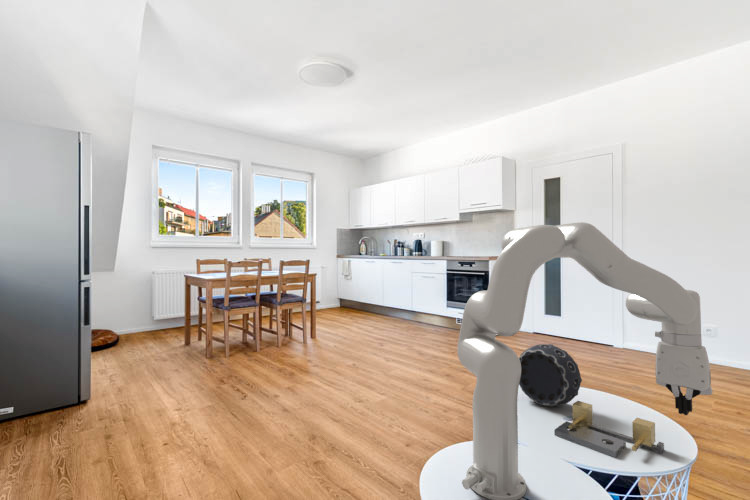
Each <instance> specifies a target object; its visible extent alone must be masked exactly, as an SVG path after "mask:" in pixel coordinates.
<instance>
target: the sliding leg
mask: <svg viewBox="0 0 750 500" xmlns="http://www.w3.org/2000/svg"><path fill="white" fill-rule="evenodd" d="M631 425H632V426H631V427H632V437H633V441H635V442H636V443H635V444H632V446H631V451H633V452H635V453H636V452H637V451H638V449H639V448H640V447H641V445H642V444H644V445H647V446H650V447H652V445H653V444H654V445H655V443H656V423H655V422H653V421H650V420H648V419H647V420H646V419H643V418H640V417H636V418H635V419H634V420H633V421H632V423H631Z"/></svg>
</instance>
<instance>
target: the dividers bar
mask: <svg viewBox="0 0 750 500" xmlns="http://www.w3.org/2000/svg"><path fill="white" fill-rule="evenodd" d="M593 416H594V414H593V404H592V403H591V404H590V403H589V402H588V403H587V402H584V401H580V400H576V401H575V402H573V403H572V422H570V423H571V424H570V425H569V429H573V428H574V427H575V426H577V425H579V426H582V427H585V428H588V429H591V430H594V431H597V432H600V433H603V434H606V435H609V436H612V437H615V438H618V439H621V440H624V441H626V443H630V444H632V445H634V444H635V443H636V442H635V441H633V436H629V435H625V434H623V433H619V432H617V431H613V430H610V429H607V428H605V427H602V426H598V425H595V424H593V423H594V421H593V420H594V418H593ZM640 447H642V448H645V449H648V450H650V451H654V452H656V453H657V454H659V455H663V453H664V452H665V443H664V442H662V441H658V443H657V444H655V443H654V444H653V445H652V447H650V446H647V445H644V444H642V445H641V446H640Z"/></svg>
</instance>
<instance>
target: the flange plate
mask: <svg viewBox="0 0 750 500" xmlns="http://www.w3.org/2000/svg"><path fill="white" fill-rule="evenodd" d="M571 423H572V422H570V421H564V422H563V423H562V424H560V425H559V426H558V427H556V428H555V429H554V431H553V432H554V436H555V437H559V438H562V439H565V440H567V441H569V442H572V443H575V444H578V445H580V446H583V447H585V448H589V449H591V450H593V451H597V452H599V453H602V454H605V455H607V456H610V457H611V458H612V457H613V458H615V459H617V458H618V456H619V455H620V454H621V453H622V452H623V451H624V450H625V449H626V448H627V442H626V441H624V440H621V439H618V438H615V437H612V436H609V435H606V434H603V433H600V432H597V431H594V430H591V429H588V428H585V427H582V426H579V425H577V426H575V427H574V428H573V429H569V425H570V424H571Z"/></svg>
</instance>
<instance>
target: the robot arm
mask: <svg viewBox="0 0 750 500" xmlns="http://www.w3.org/2000/svg"><path fill="white" fill-rule="evenodd" d="M501 250H502V251H501V252H500V253H499V254H498V257H497V258H496V260H495V261H494V264H493V267H492V270H491V274H490V277H489V281H488V286H487V290H484V289H483V290H479V291H477V292H475V293H473V294H472V295H471V296H470V297H469V299H468V300H467V302H466V304H465V307H464V310H463V314H462V320H461V324H460V328H459V329H460V330H459V335H458V340H457V348H456V349H457V357H458V360H459V362H460V364H461V365H462V367H464V368H465V369H466V370H467V371H469V372H470V373H471V374H473V375H474V376H476V382H475V383H476V384H475V387H474V390H473V394H472V443H473V444H472V447H473V448H472V453H473V454H472V456H473V457H472V459H473V461H472V463H473V464H472V465H471V466H469V467H468V468H467V470H466V477H465V478H464V479H462V481H461V484H462V487H463V488H464V489H465V490H470V489H472V490H473V491H474V492H475V493H476V494H478V495H480V496H482V497H483V498H485V499H488V500H519V499H521V498H522V497H524V496H525V494H526V491H527V483H526V479H525V478H524V477H523V476H522V475H521V473H519V445H518V444H519V443H518V442H519V440H518V439H519V438H518V436H519V434H518V433H519V431H518V397H519V388H520V385H519V382H520V377H521V363H520V359H519V357H520V356H519V355H518V354H517V353H516V351H515V350H514V349H513V348H511V347H510V346H509V345H508V344H507V343H504V342H502V341H499V340H497V339H496V336H501V337H512V336H515V335H516V334H517V333H519V331H520V330H521V328H522V324H523V322H524V317H525V311H526V304H527V300H528V294H529V289H530V285H531V281H532V279H533V277H534V276H533V275H534V274H535V273H536V272H537V270H538V269H539V268H540V267H541V266H542V265H544V264H546V263H547V262H549V261H552V260H554V259H557V258H560V259H561V258H563V259H564V258H565V259H566V258H569V259H572V260H574V262H577V263H578V264H579V265H580V266H581V267H583V269H584V270H586V271H587V272H588V273H589V274H590V275H591V276H592V277H594V278H595V279H596V280H597V281H598V282H600V283H601V284H602V285H605V286H607V287H610V288H612V289H616V290H618V291H621V292H625V293H629V294H628V295H627V297H626V299H625V307H626V310H627V311H628V312H629V314H631V315H632V316H634V317H636V318H638V319H641V320H648V321H653V322H658V323H661V331H654V336H655V337H657V338H658V339H659V338H660V339H661V340H660V341H658V343H657V347H656V351H655V352H656V353H655V379H656V380H655V383H656V384H657V385H660V386H662V387H664V388H667V389H668V390H669V392H671V393H672V395H673V397H674V399H675V401H674V402H675V407H674V408H675V409H678V411H677V412H678V414H680V415H682V414H683V415H684V416H688V415H689V413H692V412H693V399H694V398H695V397H697V396H700V395H701V396H703V395H704V396H711V395H713V393H714V392H713V389H712V386H711V384H712V377H711V367H710V361H709V357H708V356H709V355H708V352H707V348H706V347H705V346H704V345H703V344H702V343H703V342H702V341H703V339H702V317H701V316H702V315H701V314H702V313H701V296H700V294H699V292H697V291H694V290H691V289H686V288H685V287H684V286H682V285H681V284H680V283H679V282H677V281H676V280H675V279H673V278H672V277H670V276H668V275H667V274H664V273H663V272H661V271H659V270H657V269H655V268H652V267H650V266H648V265H647V264H644V263H642V262H639V261H637V260H635V259H633V258H631V257H630V256H629V255H627V253H625V252H624V251H623V250H621V248H620V247H619V246H617V245H616V244H615V243H614V242H613V241H612V240H610V239H609V238H608V237H607V236H606V235H605V234H604V233H602V231H601V230H599V229H598V228H597V227H595V226H594V225H593V224H591V223H588V222H571V223H564V224H557V225H556V224H555V225H551V224H539V225H532V226H531V225H529V226H525V227H519V228H514V229H511V230H510V231H508V232H507V233H505V234H504V236H503V237H502V241H501ZM682 388H686V389H685V394H683V392H682Z"/></svg>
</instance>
